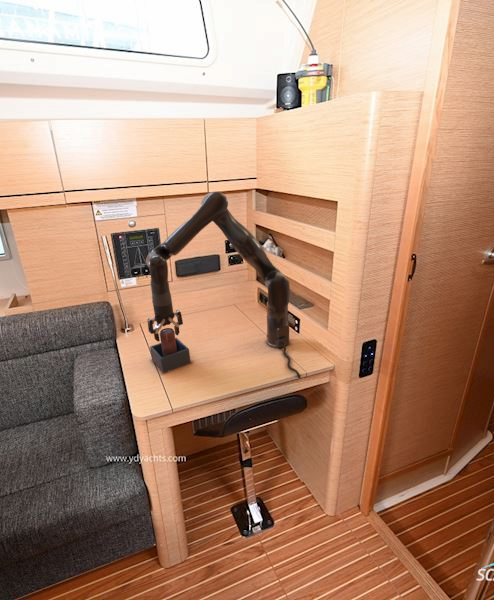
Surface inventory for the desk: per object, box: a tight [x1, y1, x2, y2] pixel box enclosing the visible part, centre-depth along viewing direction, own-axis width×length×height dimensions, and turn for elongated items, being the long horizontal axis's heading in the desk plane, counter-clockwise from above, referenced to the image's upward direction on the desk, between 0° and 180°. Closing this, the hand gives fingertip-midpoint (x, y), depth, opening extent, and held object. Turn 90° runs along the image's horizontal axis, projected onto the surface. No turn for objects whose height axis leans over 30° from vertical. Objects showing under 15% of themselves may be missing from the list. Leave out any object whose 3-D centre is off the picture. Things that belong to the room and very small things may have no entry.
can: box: [159, 327, 177, 357], centre depth 141 cm, size 6×6×14 cm
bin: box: [149, 337, 191, 374], centre depth 143 cm, size 13×13×7 cm
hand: (167, 337), depth 140 cm, fingers open, 8 cm apart
